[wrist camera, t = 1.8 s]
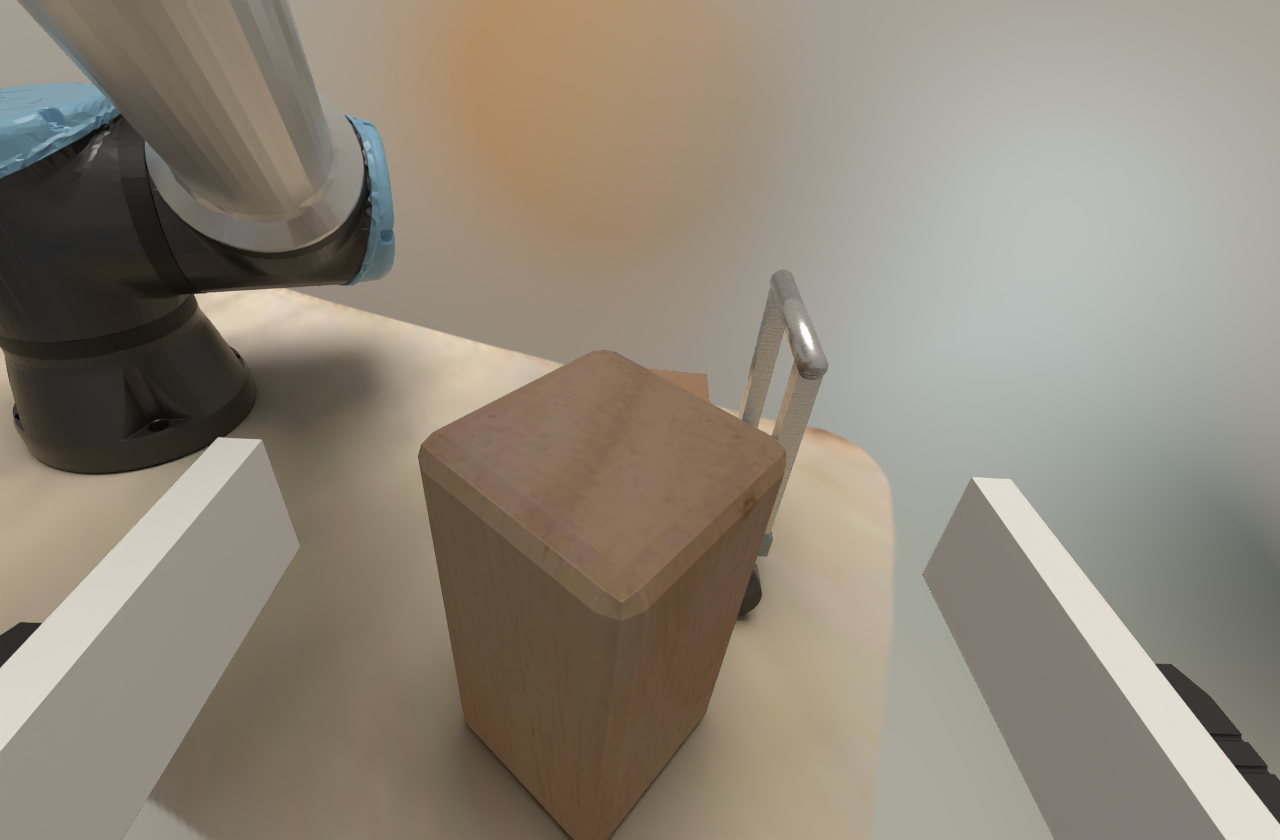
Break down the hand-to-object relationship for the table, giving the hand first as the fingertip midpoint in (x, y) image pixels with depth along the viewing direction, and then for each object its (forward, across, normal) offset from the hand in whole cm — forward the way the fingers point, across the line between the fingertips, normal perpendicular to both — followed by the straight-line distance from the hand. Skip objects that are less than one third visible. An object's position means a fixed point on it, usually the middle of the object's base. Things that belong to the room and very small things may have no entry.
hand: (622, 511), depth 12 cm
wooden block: (+10, -1, -25) cm, 26 cm away
